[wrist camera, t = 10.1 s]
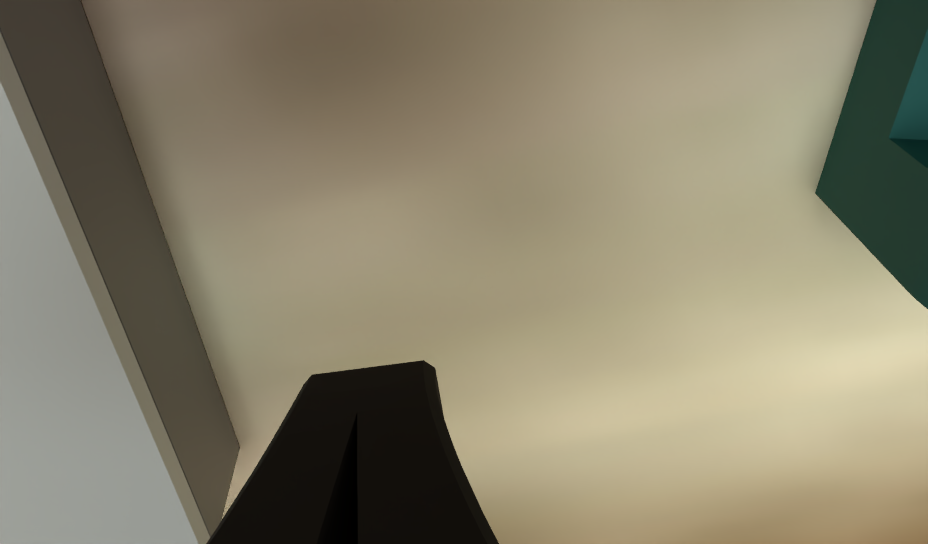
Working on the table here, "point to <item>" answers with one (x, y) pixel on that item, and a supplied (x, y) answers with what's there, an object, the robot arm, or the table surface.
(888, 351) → the table surface
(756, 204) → the table surface
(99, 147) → the cable duct
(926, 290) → the bracket
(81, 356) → the duct lid
